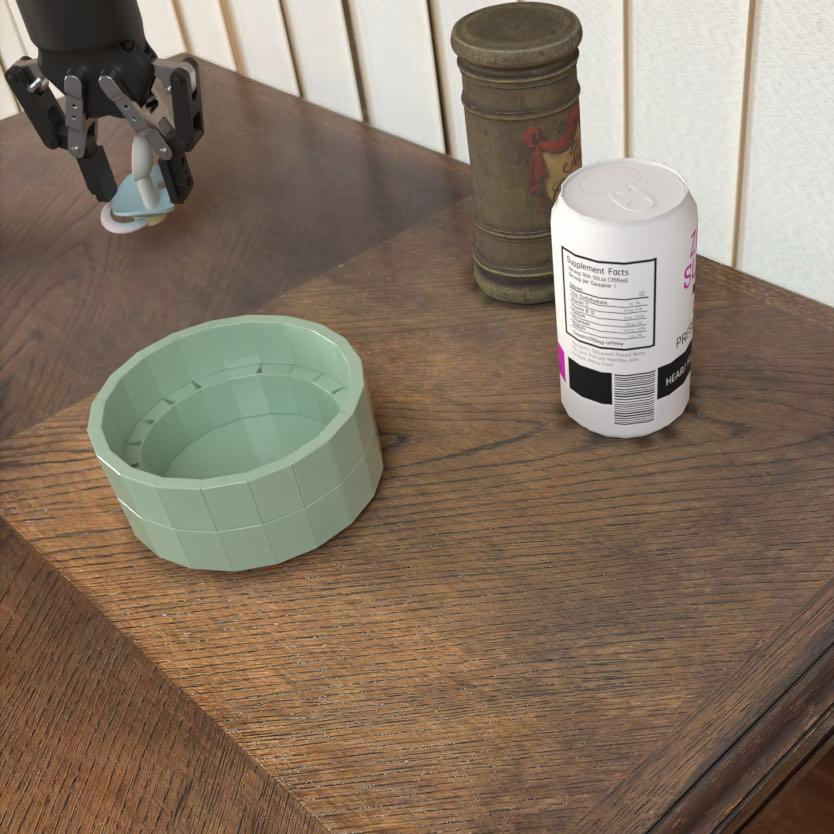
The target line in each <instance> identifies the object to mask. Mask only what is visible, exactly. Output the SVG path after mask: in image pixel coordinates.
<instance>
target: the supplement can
mask: <svg viewBox="0 0 834 834" xmlns="http://www.w3.org/2000/svg"><path fill="white" fill-rule="evenodd" d="M698 230H699V211H698V205H697V202H696V201H695V199H694V197H693V195H692V193H691V191H690V190H689V188H688V180H687V179H686V177H684V176H683V174H682V173H681V172H680V171H679V170H677V169H676V168H674V167H672V166H670V165H667V164H666V163H664V162H660V161H656V160H651V159H647V158H636V157H635V158H634V157H617V158H611V159H602V160H599V161H596V162H593V163H588V164H586V165H582V167H581V168H580V169H578V170H576V171H575V172H573V173H571V174H570V175H569V176H568V177H567V178H566V180H565V181H564V182H563V184H562V185H561V192H560V194H559V196H558V198H557V200H556V202H555V204H554V206H553V208H552V212H551V236H552V253H553V269H554V286H555V300H554V303H555V315H556V316H555V317H556V318H555V319H556V332H557V333H556V334H557V351H558V364H559V366H558V369H559V382H560V383H559V384H560V399H561V404H562V406H563V408H564V409H565V412H566V413H567V416H569V417H570V418H571V419H573V420H574V421H575V422H576V423H577V424H579V425H580V426H581V427H583V428H586V429H587V430H588V431H591V432H592V433H596V434H599V435H601V436H603V437H609V438H620V439H630V438H636V437H637V438H638V437H644V436H647V435H650V434H653V433H655V432H658V431H661V430H662V429H663V428H666V427H667V426H669V425H670V424H671V423H673V422H674V421H676V419H677V418H678V417H680V416H682V414H683V413H684V411H685V409H686V407H687V405H688V403H689V401H690V391H691V373H692V372H691V370H692V354H693V353H692V352H693V333H694V332H693V331H694V328H693V327H694V310H695V293H696V292H695V289H696V274H697V273H696V272H697V271H696V270H697V255H698V254H697V251H698V250H697V249H698V232H699V231H698Z"/></svg>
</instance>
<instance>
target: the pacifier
mask: <svg viewBox="0 0 834 834" xmlns="http://www.w3.org/2000/svg"><path fill="white" fill-rule="evenodd" d="M131 147H132V148H131V171H132V172H131V173H129V174H128V175H126V177H125V178H124V179H123V181H122V182H121V183H120V185H119V187H117V193H116V195H115V196H114V197H113V198H112V199H111V201H110V202H105V205H104V206H103V207H102V210H101V212H100V222H101V225H102V226H103V227H104V229H105V230H106V231H108V232H110V233H112V234H117V235H126V234H131V233H135V232H137V231H140V230H141V229H143V228H145V227H151V226H156V225H158V224H160V223H162V222H163V221H164V220H165V219H166V217H167V214H168V213H171V212H173V211H175V204H172V203H171V201H170V198H169V195H168V192H167V189H166V186H165V187H164V188H159V187H160V185H162V184H165V183H164V180H163V177H162V173H161V170H160V167H159V164H156V163H155V164H154V153H153V149H152V147H151V145H150V144H149V142H148V141H147V140H146V139H145V138H143V137H141V136H138V135H135V136H134V137H133V140H132V145H131ZM114 215H115V216H118V217H123V218H133V221H130V222H118V221H116V220H114Z"/></svg>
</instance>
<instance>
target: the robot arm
mask: <svg viewBox="0 0 834 834" xmlns="http://www.w3.org/2000/svg"><path fill="white" fill-rule="evenodd" d="M15 3H16V5H17V8H18V11H19V13H20V16H21V19H22V21H23V24H24V27H25V29H26V32H27V34H28V38H29V40H30V41H31V43H32V44H33V45H34V46H35V47H36V48H37V57H36V58H32V57H30V56H29V55H22V56H21V57H20V58H19V59H17V60H16V61H14V63H13V64H11V65H10V66H9V67H8V68H7V69H6V70H5V72H4V74H3V76H4V79H5V81H6V83H7V84H8V86H9V87H10V89H11V91H12V93H13V95H14V96H15V98H16V99H17V101H18V103H19V104H20V106H21V108H22V110H23V111H24V113H25V115H26V116H27V119H28V120H29V121H30V123H31V125H32V126H33V128H34V130H35V131H36V133H37V135H38V137H39V138H40V141H41V142H42V143H43V145H44V146H45V147H46V148H47V149H49V150H52V151H55V150H57V149H58V148H59V149H62V150H65V151H68V153H69V154H70V155H71V156H72V157H74V158H75V159H76V162H77V164H78V167H79V170H80V173H81V176H82V177H83V180H84V183H85V185H86V188H87V190H88V191H89V192H90V193H91V195H92V196H93V195H95V198H96V200H97V201H98V203H107V202H110V201H111V199H112V198H113V197H114V196H115V195H116V193H117V190H118V184H117V181H116V179H115V176H114V173H113V170H112V168H111V165H110V162H109V159H108V157H107V154H106V151H105V148H104V145H102V144H98V143H97V141H98V136H99V135H98V134H99V119H100V118H103V117H108V116H110V117H114V118H117V119H126V121H127V122H128V123H129V125H130V126H131V127H132V129H133V130H134V132H135V133H136V134H137V135H140V136H143V137H144V139H145V141H146V142H147V143H148V144H149V146H150V147H151V149H152V150H153V151H154V152H155V154H156V155H157V156H158V159H157V160H156V161H157V165H159V167H160V170H161V173H162V177H163V180H164V183H163V184H165V185H164V186H165V187H166V189H167V192H168V195H169V198H170V201H171V203H172V204H174V205H183V204H184V203H185V202H186V200H187V199H188V197H189V196H190V193H191V191H192V190H193V189H194V182H195V181H194V178H193V175H192V172H191V167H190V165H189V162H188V158H187V155H186V153H190V152H192V151H193V150H194V148H195V147H196V146H197V144H198V143H199V141H200V140H201V139H202V138H203V136H204V134H205V124H204V111H203V110H204V109H203V101H202V99H203V97H202V88H201V87H202V86H201V76H200V65H199V63H198V61H196V59H194V58H192V57H190V56H186V57H184V58H183V59H182V60H181V61H180V62H179V61H174V60H170V59H165V58H160V57H159V56H158V54H157V53H156V51H155V50H154V49H153V48H152V47H151V45H150V44H149V42H148V40H147V38H146V34H145V28H144V23H143V22H144V21H143V15H142V14H141V10H140V7H139V3H138V0H15ZM156 79H159V80H160V81H161V83H162V85H163V88H164V92H165V94H166V95H168V96H171V97H170V98H171V105H172V114H173V119H172V117H171V116H170V114H169V108H168V105H167V104H166V102H165V101H164V99H163V98H162V96H161V95H160V93H159V92H158V91H157V89H156V88H155V86H154V84H155V82H156ZM50 84H51V85H53V86H54V87H55V88H56V89H57V90H58V91H59V92H60V93H61V94H62V95H63V96H64V97H65V108H64V109H65V112H64V110H63V108H62V107H61V105H60V102H59V101H58V100H57V97H56V96H55V95H54V92H53V91H52V89H51V86H49V85H50ZM144 106H145V112H144V110H142V109H143V108H144Z"/></svg>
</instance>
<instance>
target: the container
mask: <svg viewBox="0 0 834 834" xmlns="http://www.w3.org/2000/svg"><path fill="white" fill-rule="evenodd" d="M583 32H584V31H583V26H582V23H581V20H580V18H579V17H578V15H577V14H576V13H574V12H573V11H572V10H570V9H569V8H567V7H564V6H560V5H558V4H554V3H549V2H542V1H511V2H504V3H499V4H493V5H488V6H485V7H482V8H479V9H476V10H474V11H471V12H470V13H467V14H466V15H463V16H462V17H460V18H459V19H458V20H457V21H456V22H455V23H454V25H453V26H452V29H451V31H450V46H451V49H452V51H453V53H454V54H455V55H456V56H457V57H456V65H457V67H458V69H459V73H460V74H461V85H462V89H461V95H460V101H461V104H462V106H463V112H464V113H463V115H464V123H465V130H466V131H465V132H466V142H467V150H468V157H469V166H470V176H471V184H472V185H471V186H472V198H473V205H472V219H473V223H474V227H475V228H474V229H475V235H476V236H475V237H476V238H475V240H474V242H473V245H472V256H473V258H474V261H473V262H474V263H473V275H474V278H475V281H476V283H477V285H478V287H479V289H480V290H481V291H482V292H484V294H486V295H488V296H489V297H491V298H492V299H495V300H497V301H502V302H505V303H510V304H511V303H512V304H518V305H530V304H534V305H535V304H542V303H547V302H548V303H549V302H552V301H555V286H554V269H553V253H552V236H551V212H552V208H553V206H554V204H555V202H556V200H557V198H558V196H559V194H560V192H561V185H562V184H563V182H564V181H565V180H566V178H567V177H568V176H569V175H570V174H571V173H573V172H575V171H576V170H578V169H580V168H581V167H583V152H582V150H583V149H582V131H581V130H582V128H581V127H582V125H581V106H580V96H581V95H580V94H581V91H582V90H581V84H580V82H579V79H578V67H577V65H578V60H579V58H580V49H579V46H580V45H581V43H582V40H583V37H584V34H583Z"/></svg>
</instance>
